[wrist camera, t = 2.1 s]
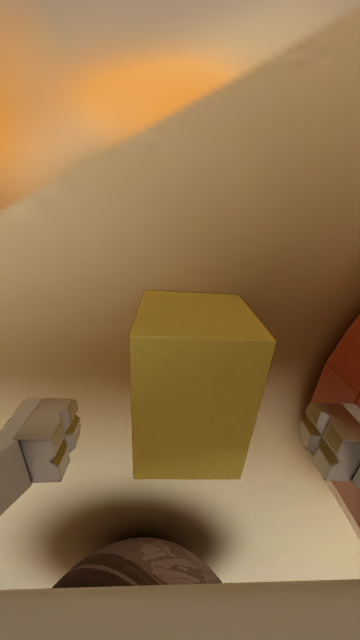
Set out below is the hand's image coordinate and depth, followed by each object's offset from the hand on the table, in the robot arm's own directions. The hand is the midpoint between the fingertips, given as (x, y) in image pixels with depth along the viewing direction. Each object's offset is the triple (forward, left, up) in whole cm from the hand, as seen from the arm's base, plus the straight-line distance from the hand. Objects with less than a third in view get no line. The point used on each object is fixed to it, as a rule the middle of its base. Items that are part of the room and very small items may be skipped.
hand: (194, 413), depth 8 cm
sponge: (-1, 0, -3) cm, 3 cm away
